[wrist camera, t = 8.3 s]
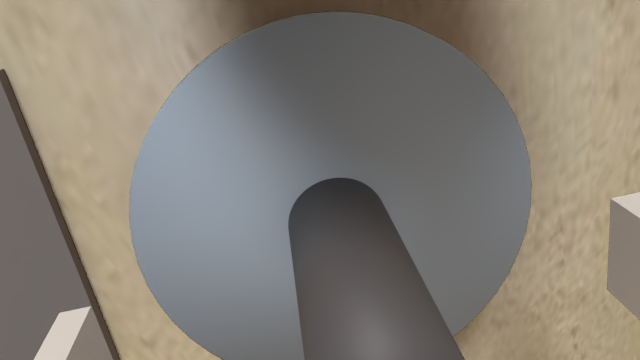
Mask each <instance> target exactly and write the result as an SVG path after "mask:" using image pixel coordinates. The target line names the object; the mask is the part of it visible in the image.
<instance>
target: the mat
mask: <svg viewBox="0 0 640 360" xmlns="http://www.w3.org/2000/svg"><path fill="white" fill-rule="evenodd" d="M90 306H91V308H92V310H93V313H94V315H95V318H96V320H97V322H98V325H99V327H100V330H101V332H102V335H103V337H104V340H105V342H106V345H107V347H108V350H109V352H110V354H111V357H112V359H113V360H120V359H119V356H118V354H117V351H116V349H115V346H114V344H113V341H112V339H111V336H110V334H109V331H108V329H107V326H106V324H105V321H104V319H103V316H102V314H101V311H100V309H99V306H98V304H97V301H96V299H95V296H94V294H93V291H92V289H91V286H90V284H89V281H88V279H87V276H86V274H85V271H84V269H83V266H82V264H81V261H80V259H79V256H78V254H77V251H76V249H75V246H74V244H73V241H72V239H71V236H70V233H69V231H68V228H67V226H66V223H65V221H64V218H63V216H62V213H61V211H60V208H59V206H58V203H57V201H56V198H55V196H54V193H53V191H52V188H51V186H50V183H49V181H48V178H47V176H46V173H45V171H44V168H43V166H42V163H41V161H40V158H39V156H38V153H37V151H36V148H35V146H34V143H33V141H32V138H31V136H30V133H29V131H28V128H27V126H26V123H25V121H24V118H23V116H22V113H21V111H20V108H19V106H18V103H17V101H16V98H15V96H14V93H13V91H12V88H11V86H10V83H9V81H8V78H7V76H6V73H5V71H4V69H1V70H0V360H34V358H35V356H36V355H37V353H38V351H39V349H40V347H41V345H42V344H43V342H44V340H45V338H46V336H47V335H48V333H49V331H50V329H51V327H52V325H53V324H54V322H55V320H56V318H57V316H58V315H59V313H61V312H66V311H71V310H75V309H80V308H85V307H90Z"/></svg>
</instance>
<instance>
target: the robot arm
mask: <svg viewBox="0 0 640 360" xmlns="http://www.w3.org/2000/svg"><path fill="white" fill-rule="evenodd" d="M607 290H608V291H609V292H610V293H611V294H612V295H613V296H614V297H615V298H617V299H618V300H619V301H620V302H621V303H622V304H623V305H624V306H625V307H626V308H627V309H628V310H629V311H630V312H631V313H632V314H634V315H635V316H636V317H637V318H638V319H639V320H640V192H639V193H635V194H630V195H625V196H620V197H615V198H611V203H610V227H609V250H608V273H607ZM34 360H113V359H112V357H111V354H110V352H109V350H108V347H107V345H106V342H105V340H104V337H103V335H102V332H101V330H100V327H99V325H98V322H97V320H96V318H95V315H94V313H93V310H92V308H91V306H90V307H85V308H80V309H75V310H71V311H66V312H61V313H59V315H58V316H57V318H56V320H55V322H54V324H53V325H52V327H51V329H50V331H49V333H48V335H47V336H46V338H45V340H44V342H43V344H42V345H41V347H40V349H39V351H38V353H37V355H36V356H35V358H34Z"/></svg>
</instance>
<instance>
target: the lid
mask: <svg viewBox="0 0 640 360" xmlns="http://www.w3.org/2000/svg"><path fill="white" fill-rule="evenodd" d="M531 187H532V182H531V171H530V160H529V156H528V152H527V148H526V144H525V139H524V136H523V133H522V131H521V128H520V126H519V124H518V121H517V119H516V116H515V114H514V112H513V110H512V109H511V107H510V105H509V104H508V102H507V100H506V99H505V97H504V95H503V94H502V92H501V91H500V90H499V88H498V87H497V86H496V85H495V84H494V82H493V81H492V80H491V79H490V77H489V76H488V75H487V74H486V73H485V72H484V71H483V70H482V69H481V68H480V67H479V66H478V65H477V64H475V63H474V62H473V61H472V60H471V59H470V58H469V57H468V56H467V55H465V54H464V53H462V52H461V51H459V50H458V49H456V48H455V47H453V46H452V45H450V44H449V43H447V42H446V41H444V40H442V39H440V38H438V37H436V36H434V35H432V34H430V33H427V32H425V31H423V30H421V29H419V28H417V27H414V26H412V25H410V24H407V23H403V22H400V21H397V20H394V19H390V18H387V17H384V16H378V15H372V14H366V13H359V12H332V11H326V12H318V13H310V14H301V15H296V16H292V17H288V18H284V19H281V20H277V21H273V22H270V23H267V24H265V25H262V26H260V27H258V28H255V29H253V30H250V31H248V32H245V33H243V34H242V35H240V36H238V37H236V38H235V39H233V40H231V41H230V42H228V43H226V44H224V45H223V46H221V47H219V48H218V49H217V50H215V51H214V52H213V53H212V54H210V55H209V56H208V57H206V58H205V59H204V60H203V61H201V62H200V63H199V64H198V65H196V66H195V67H194V69H193V70H192V71H191V72H190V73H189V74H188V75H187V76H186V77H185V78H184V79H183V80H182V81H181V82H180V83H179V84H178V85H177V87H176V88H175V89H174V91H173V92H172V94H171V95H170V96H169V98H168V99H167V100H166V102H165V103H164V105H163V106H162V107H161V109H160V111H159V112H158V114H157V116H156V117H155V119H154V121H153V123H152V125H151V127H150V129H149V131H148V133H147V135H146V137H145V138H144V140H143V143H142V146H141V149H140V152H139V155H138V158H137V161H136V164H135V167H134V172H133V178H132V183H131V188H130V205H129V220H130V229H131V237H132V243H133V247H134V251H135V254H136V258H137V262H138V265H139V267H140V270H141V272H142V274H143V276H144V279H145V281H146V283H147V286H148V287H149V289H150V291H151V292H152V294H153V296H154V297H155V299H156V300H157V302H158V304H159V305H160V307H161V308H162V309H163V310H164V311H165V313H166V314H167V315H168V316H169V317H170V319H171V320H172V321H173V322H174V324H175V325H177V326H178V327H179V328H180V329H181V330H182V331H183V332H184V333H185V334H186V335H187V336H188V337H190V338H191V339H192V340H193V341H195V342H196V343H197V344H199V345H200V346H202V347H203V348H204V349H206V350H207V351H209V352H210V353H212V354H214V355H216V356H217V357H219V358H221V359H223V360H465V359H464V357H463V356H462V354H461V352H460V350H459V348H458V346H457V344H456V342H455V340H454V338H453V336H455V335H456V334H457V333H458V332H460V331H461V330H462V329H463V328H465V327H466V326H467V325H468V324H469V323H470V322H471V321H472V320H473V319H474V318H475V317H476V316H477V315H478V314H479V313H480V312H481V311H482V310H483V309H484V308H485V306H486V305H487V304H488V303H489V301H490V300H491V299H492V298H493V296H494V295H495V294H496V293H497V291H498V290H499V288H500V286H501V285H502V283H503V282H504V280H505V279H506V277H507V275H508V274H509V272H510V270H511V268H512V266H513V264H514V261H515V259H516V257H517V255H518V253H519V250H520V247H521V244H522V241H523V238H524V235H525V232H526V228H527V223H528V218H529V212H530V207H531Z"/></svg>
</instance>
